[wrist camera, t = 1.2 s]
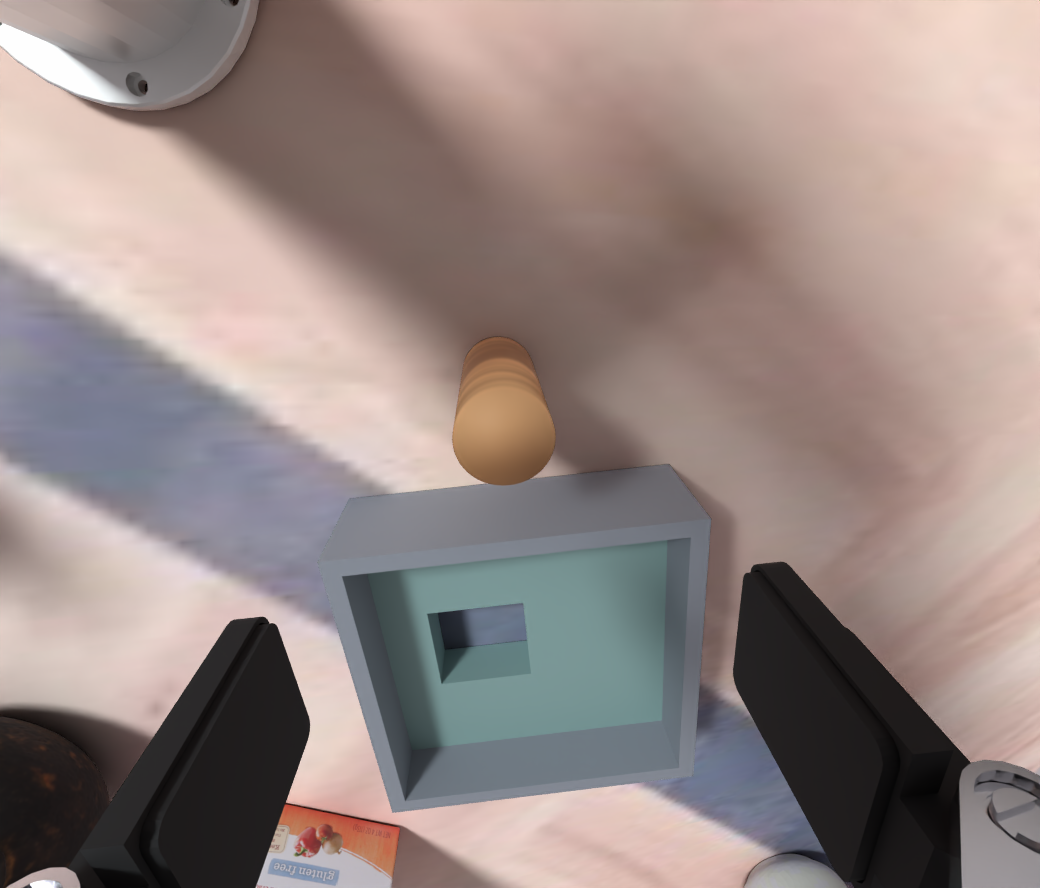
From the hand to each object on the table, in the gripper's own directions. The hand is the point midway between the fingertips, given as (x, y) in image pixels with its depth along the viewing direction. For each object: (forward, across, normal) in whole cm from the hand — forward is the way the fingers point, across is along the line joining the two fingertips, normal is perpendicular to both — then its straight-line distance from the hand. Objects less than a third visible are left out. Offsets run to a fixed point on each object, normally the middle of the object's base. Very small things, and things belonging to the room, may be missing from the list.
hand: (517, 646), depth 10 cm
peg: (+20, 0, 0) cm, 20 cm away
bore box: (+20, 0, +17) cm, 26 cm away
